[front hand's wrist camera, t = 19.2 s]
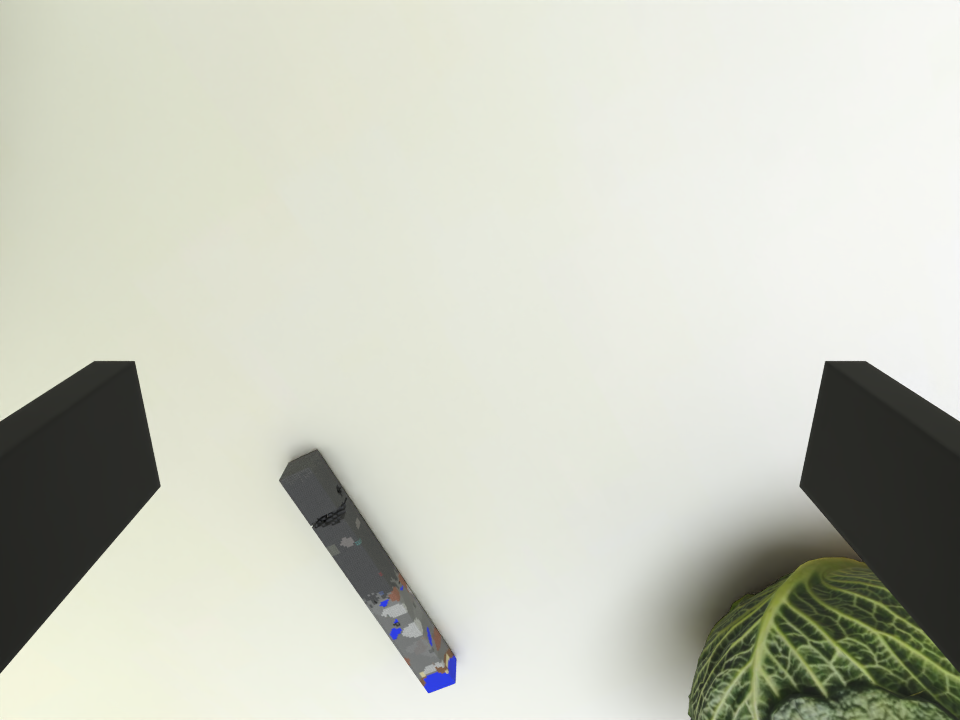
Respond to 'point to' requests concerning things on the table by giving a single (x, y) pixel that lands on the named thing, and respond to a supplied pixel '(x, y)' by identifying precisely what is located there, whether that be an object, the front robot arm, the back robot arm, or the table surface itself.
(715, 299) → the table surface
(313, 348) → the table surface
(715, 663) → the vegetable
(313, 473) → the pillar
